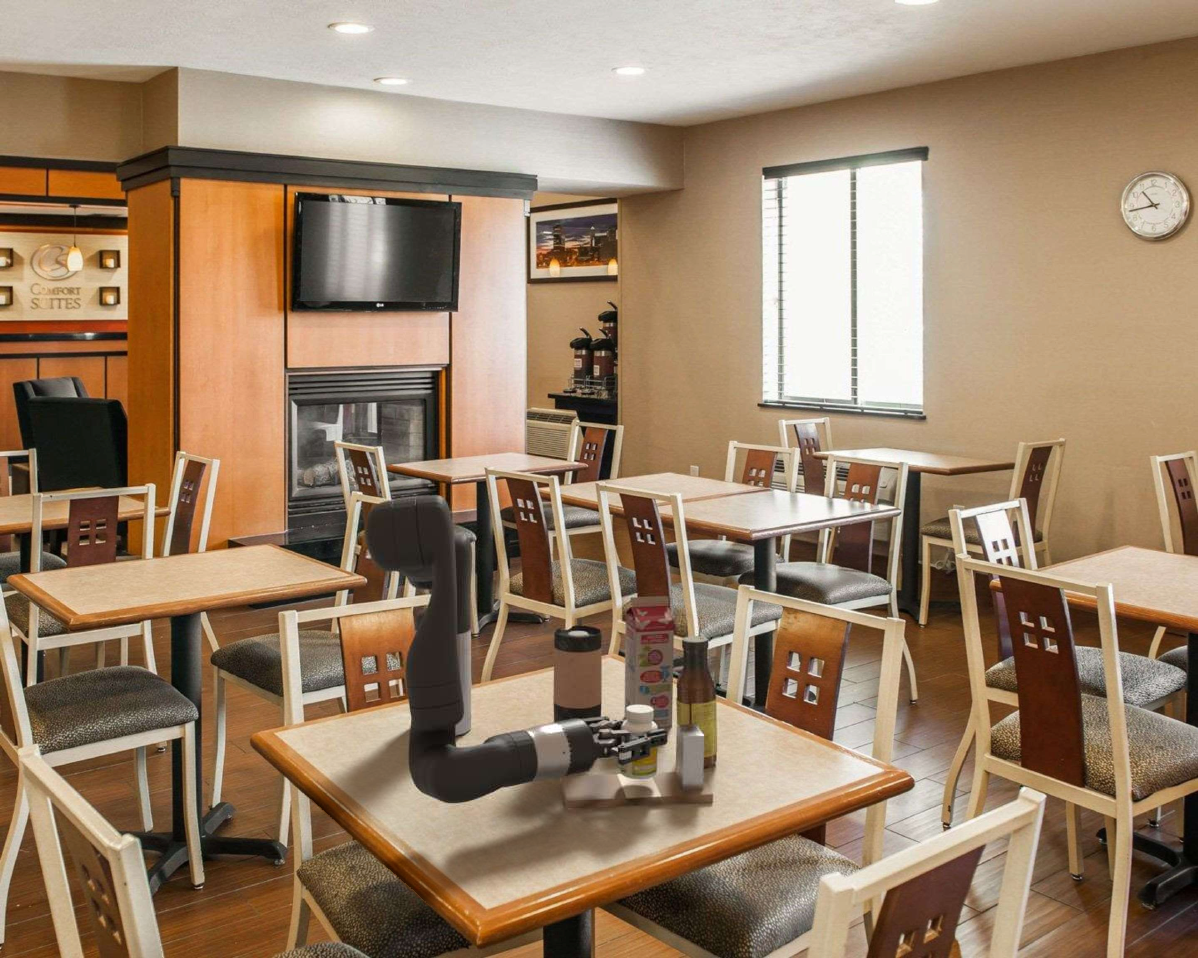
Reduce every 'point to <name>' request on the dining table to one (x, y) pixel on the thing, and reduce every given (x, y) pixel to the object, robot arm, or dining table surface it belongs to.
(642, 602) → the juice carton
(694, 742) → the silver rectangular block
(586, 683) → the travel mug
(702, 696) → the sauce bottle
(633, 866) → the dining table surface
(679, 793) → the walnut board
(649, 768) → the supplement bottle
